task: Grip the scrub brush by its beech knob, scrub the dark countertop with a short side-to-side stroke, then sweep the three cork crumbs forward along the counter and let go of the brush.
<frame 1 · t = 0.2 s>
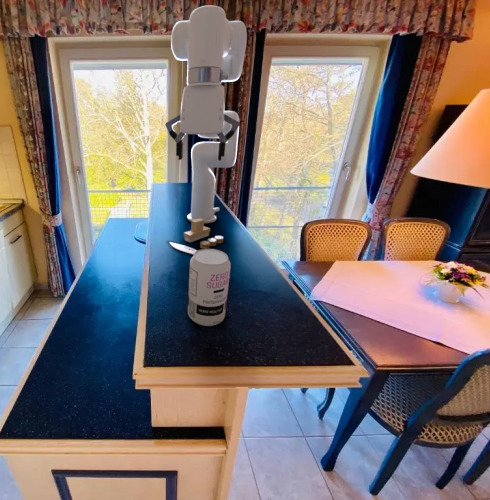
hand: (199, 159, 70), 31 cm above the table, tool pointing down, fingers open, 9 cm apart
crumb middle: (211, 244, 98), on the table
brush: (196, 238, 103), on the table
crumb 1: (204, 246, 96), on the table
crumb 2: (218, 241, 100), on the table
knife: (195, 259, 88), on the table
supplement can: (205, 316, 63), on the table
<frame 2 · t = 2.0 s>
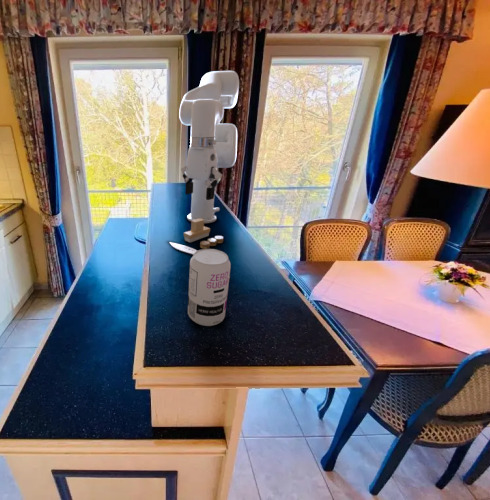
hand: (199, 196, 96), 16 cm above the table, tool pointing down, fingers open, 9 cm apart
nothing on the table moved.
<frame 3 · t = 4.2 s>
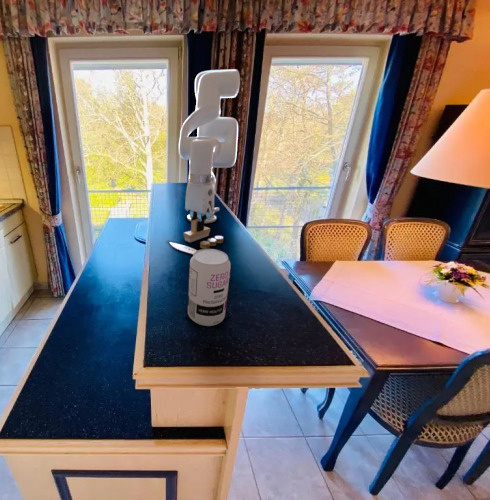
hand: (197, 229, 102), 3 cm above the table, tool pointing down, fingers closed on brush, 2 cm apart
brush: (196, 238, 103), on the table, touching gripper
everything else where it was.
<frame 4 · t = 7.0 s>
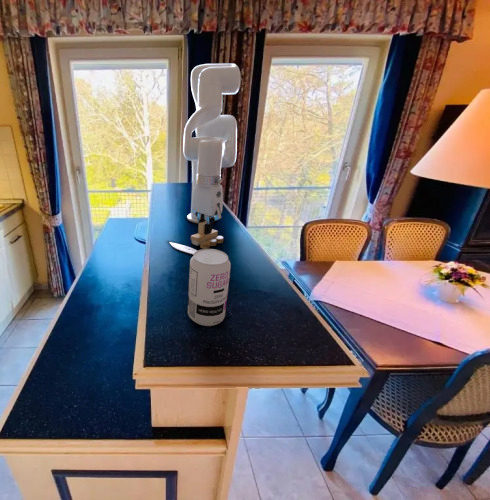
hand: (204, 232, 99), 4 cm above the table, tool pointing down, fingers closed on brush, 2 cm apart
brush: (204, 240, 101), on the table, touching gripper
everything else where it was.
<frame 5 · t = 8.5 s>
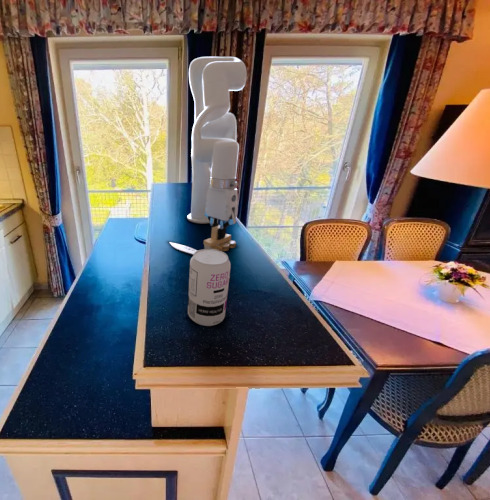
hand: (217, 237, 95), 3 cm above the table, tool pointing down, fingers closed on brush, 2 cm apart
crumb middle: (223, 248, 94), on the table
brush: (217, 245, 97), on the table, touching crumb 2, gripper
crumb 1: (216, 252, 92), on the table
crumb 2: (230, 246, 97), on the table, touching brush
everything else where it was.
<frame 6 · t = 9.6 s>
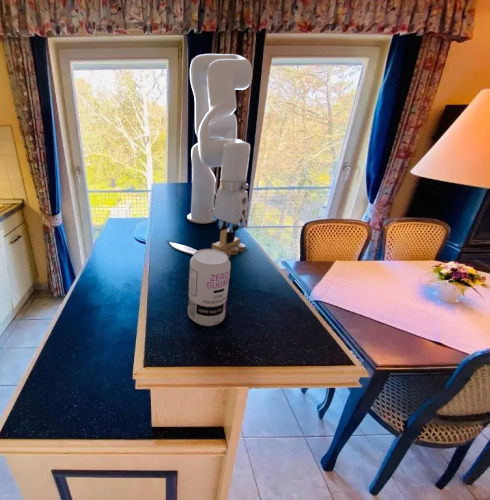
hand: (226, 240, 92), 3 cm above the table, tool pointing down, fingers closed on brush, 2 cm apart
crumb middle: (233, 252, 92), on the table, touching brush
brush: (225, 249, 94), on the table, touching crumb 2, crumb middle, crumb 1, gripper
crumb 1: (225, 256, 90), on the table, touching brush
crumb 2: (239, 249, 94), on the table, touching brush
everything else where it was.
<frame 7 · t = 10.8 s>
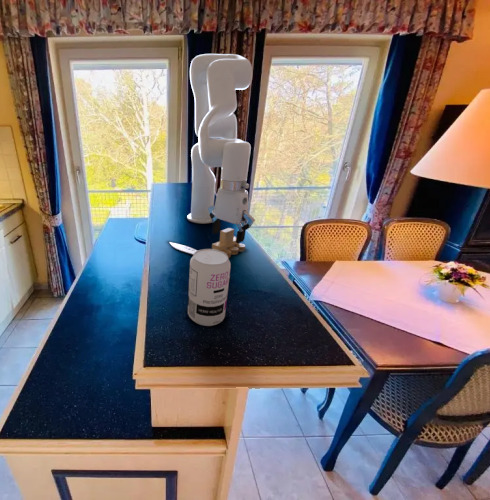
hand: (227, 237, 92), 5 cm above the table, tool pointing down, fingers open, 9 cm apart
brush: (225, 249, 94), on the table, touching crumb 2, crumb middle, crumb 1
everything else where it was.
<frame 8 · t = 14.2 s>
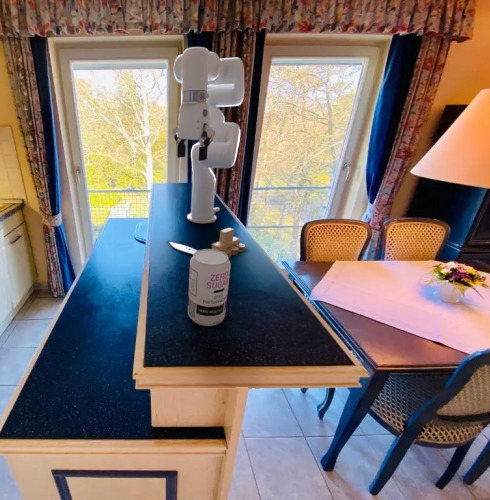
hand: (191, 158, 90), 28 cm above the table, tool pointing down, fingers open, 9 cm apart
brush: (225, 249, 94), on the table, touching crumb 2, crumb middle, crumb 1
everything else where it was.
at the end: crumb 2 inside the target area (3.9 cm from its centre), on the table; crumb middle inside the target area (1.0 cm from its centre), on the table; crumb 1 inside the target area (3.8 cm from its centre), on the table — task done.
